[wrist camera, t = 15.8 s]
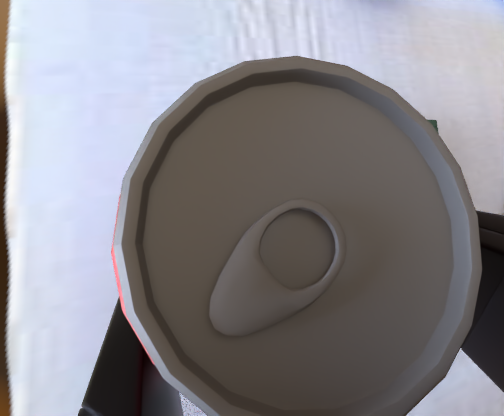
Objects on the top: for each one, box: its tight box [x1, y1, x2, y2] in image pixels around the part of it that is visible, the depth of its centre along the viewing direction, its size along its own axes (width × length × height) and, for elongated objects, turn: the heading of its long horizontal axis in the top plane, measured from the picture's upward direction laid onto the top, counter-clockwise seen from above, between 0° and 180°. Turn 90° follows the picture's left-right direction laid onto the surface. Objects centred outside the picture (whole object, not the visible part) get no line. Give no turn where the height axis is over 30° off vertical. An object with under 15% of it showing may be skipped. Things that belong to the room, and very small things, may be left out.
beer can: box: [111, 56, 482, 416], centre depth 10 cm, size 7×7×12 cm
